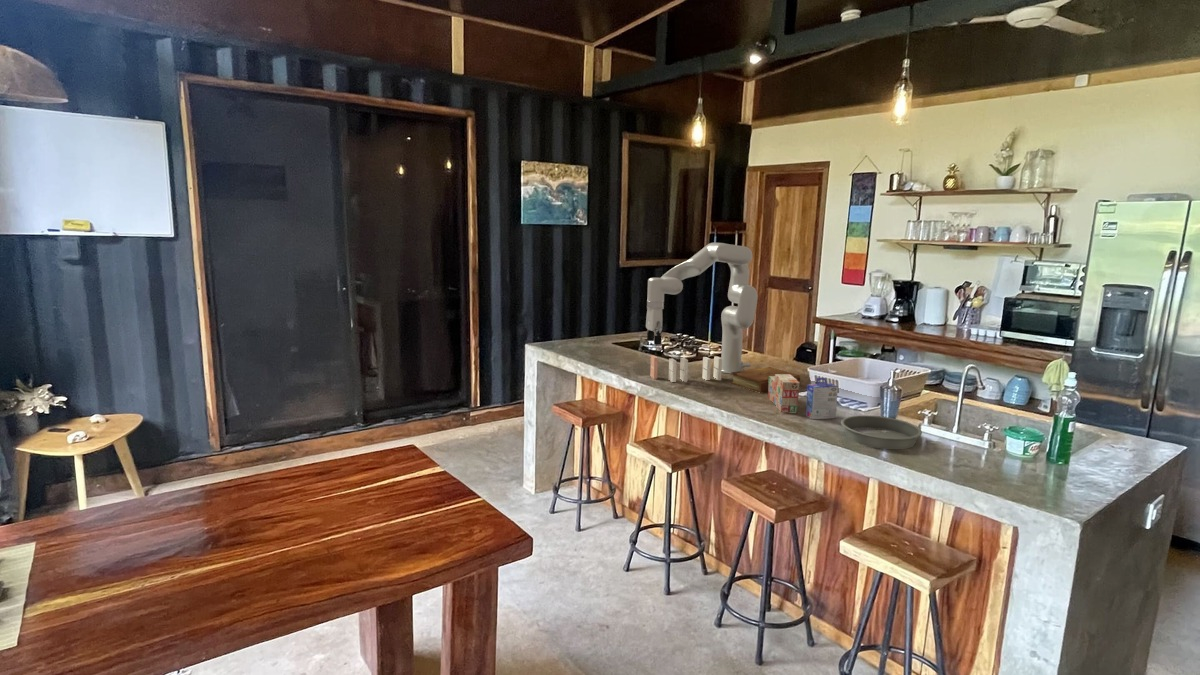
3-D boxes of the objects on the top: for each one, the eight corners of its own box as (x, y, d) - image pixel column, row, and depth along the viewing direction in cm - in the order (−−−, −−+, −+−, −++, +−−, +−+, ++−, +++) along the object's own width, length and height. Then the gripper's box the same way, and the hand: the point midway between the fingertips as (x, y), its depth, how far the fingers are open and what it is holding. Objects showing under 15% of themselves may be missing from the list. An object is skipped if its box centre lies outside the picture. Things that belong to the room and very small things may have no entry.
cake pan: (934, 441, 208) (935, 427, 207) (898, 457, 193) (899, 443, 192) (863, 422, 227) (864, 410, 226) (825, 436, 212) (826, 423, 211)
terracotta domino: (653, 376, 292) (654, 355, 290) (657, 379, 287) (657, 357, 285) (650, 376, 291) (650, 355, 290) (653, 379, 287) (654, 357, 285)
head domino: (671, 379, 286) (672, 358, 284) (675, 382, 281) (676, 360, 279) (668, 380, 285) (669, 358, 283) (672, 382, 280) (673, 360, 279)
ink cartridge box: (828, 414, 236) (831, 376, 233) (836, 418, 231) (839, 380, 228) (804, 415, 234) (807, 377, 232) (811, 419, 229) (814, 381, 226)
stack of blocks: (767, 397, 258) (769, 368, 256) (782, 398, 258) (784, 368, 256) (780, 413, 237) (782, 381, 235) (797, 413, 237) (799, 381, 235)
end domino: (716, 377, 291) (717, 356, 289) (721, 380, 286) (722, 358, 284) (713, 377, 291) (714, 356, 289) (717, 380, 286) (718, 358, 284)
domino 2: (705, 378, 290) (706, 356, 288) (710, 380, 285) (710, 359, 283) (702, 378, 289) (703, 357, 287) (706, 380, 284) (707, 359, 283)
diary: (760, 394, 265) (760, 381, 263) (730, 384, 281) (731, 372, 280) (799, 387, 276) (800, 375, 274) (769, 378, 292) (769, 366, 291)
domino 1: (683, 379, 287) (683, 357, 285) (687, 381, 282) (688, 360, 280) (679, 379, 287) (680, 358, 285) (683, 382, 282) (684, 360, 280)
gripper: (641, 302, 290) (640, 339, 293) (653, 307, 274) (652, 346, 277) (656, 302, 292) (655, 339, 295) (669, 307, 276) (668, 345, 279)
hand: (653, 342), depth 286 cm, fingers open, 9 cm apart
